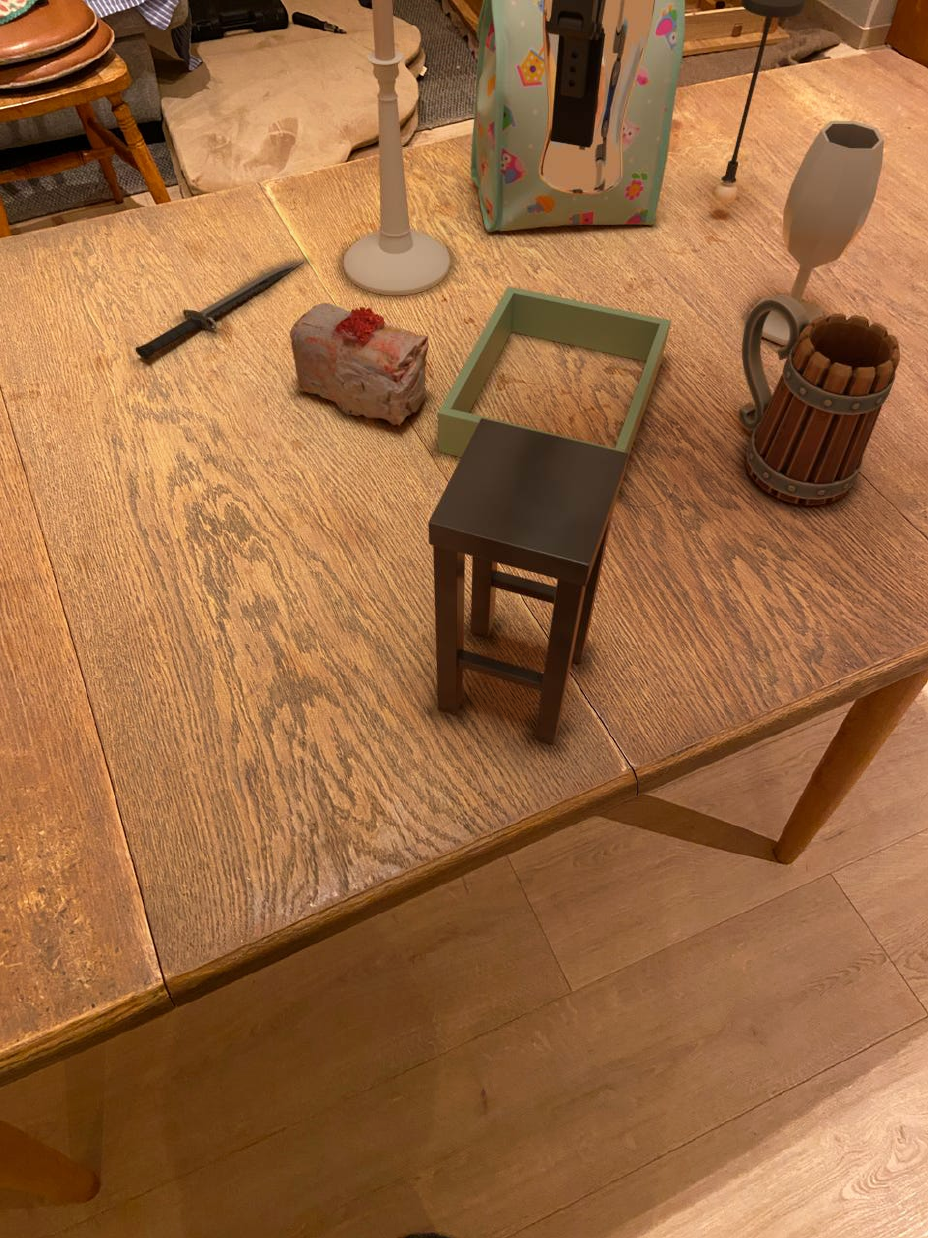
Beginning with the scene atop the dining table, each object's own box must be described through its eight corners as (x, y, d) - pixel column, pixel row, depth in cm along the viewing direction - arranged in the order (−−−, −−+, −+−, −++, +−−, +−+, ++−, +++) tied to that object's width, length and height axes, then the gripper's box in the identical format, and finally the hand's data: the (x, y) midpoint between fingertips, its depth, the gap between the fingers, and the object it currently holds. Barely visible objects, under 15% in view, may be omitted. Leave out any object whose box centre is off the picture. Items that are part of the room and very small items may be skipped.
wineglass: (821, 355, 99) (897, 164, 82) (742, 339, 100) (800, 148, 83) (829, 310, 104) (902, 121, 87) (753, 295, 105) (810, 107, 88)
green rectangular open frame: (662, 359, 98) (671, 319, 94) (615, 496, 86) (623, 457, 82) (505, 325, 101) (507, 285, 97) (438, 451, 89) (437, 412, 85)
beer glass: (532, 149, 67) (548, -99, 55) (625, 151, 67) (661, -96, 55) (532, 197, 63) (549, -59, 51) (631, 200, 63) (672, -57, 51)
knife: (283, 247, 109) (313, 257, 107) (286, 262, 110) (316, 272, 108) (123, 338, 96) (154, 352, 94) (129, 354, 97) (159, 367, 95)
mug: (875, 480, 87) (943, 351, 75) (800, 525, 84) (858, 397, 71) (759, 393, 95) (803, 263, 83) (685, 431, 91) (720, 301, 79)
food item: (440, 395, 94) (439, 313, 86) (403, 441, 90) (399, 360, 82) (329, 358, 98) (318, 276, 90) (288, 401, 93) (273, 319, 85)
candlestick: (455, 238, 112) (455, -49, 88) (443, 298, 104) (440, 2, 80) (353, 232, 112) (326, -55, 88) (335, 291, 105) (299, -5, 81)
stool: (587, 648, 75) (629, 452, 57) (555, 748, 69) (589, 565, 52) (474, 616, 77) (481, 417, 59) (434, 711, 71) (427, 522, 54)
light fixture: (715, 237, 113) (771, 10, 92) (682, 212, 116) (730, -12, 96) (756, 223, 115) (820, -1, 94) (723, 199, 118) (778, -23, 98)
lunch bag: (631, 167, 123) (669, -72, 101) (663, 233, 113) (713, -16, 91) (465, 177, 121) (468, -64, 99) (483, 245, 111) (490, -6, 89)
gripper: (615, -404, 50) (573, 51, 68) (502, -355, 39) (488, 175, 57) (750, -398, 48) (670, 66, 67) (673, -345, 37) (602, 196, 56)
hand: (586, 116), depth 62 cm, fingers closed on beer glass, 7 cm apart
